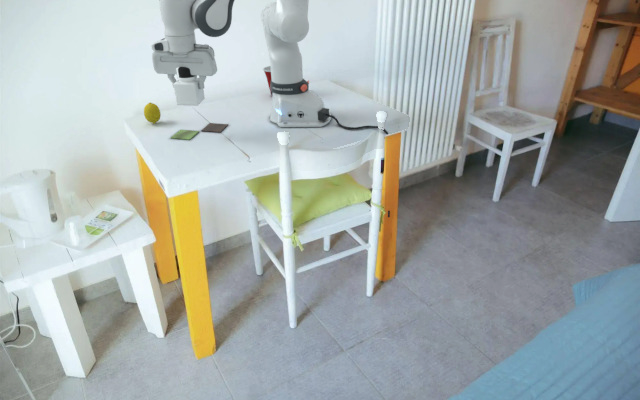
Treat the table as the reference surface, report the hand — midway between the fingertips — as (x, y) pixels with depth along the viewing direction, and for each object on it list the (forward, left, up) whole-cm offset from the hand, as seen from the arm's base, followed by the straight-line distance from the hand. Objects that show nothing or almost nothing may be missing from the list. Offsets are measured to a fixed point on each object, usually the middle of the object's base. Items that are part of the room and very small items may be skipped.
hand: (188, 88), depth 148 cm
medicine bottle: (0, 0, -5) cm, 5 cm away
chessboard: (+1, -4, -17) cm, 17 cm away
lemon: (+21, -8, -17) cm, 28 cm away
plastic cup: (-14, -46, -17) cm, 51 cm away
